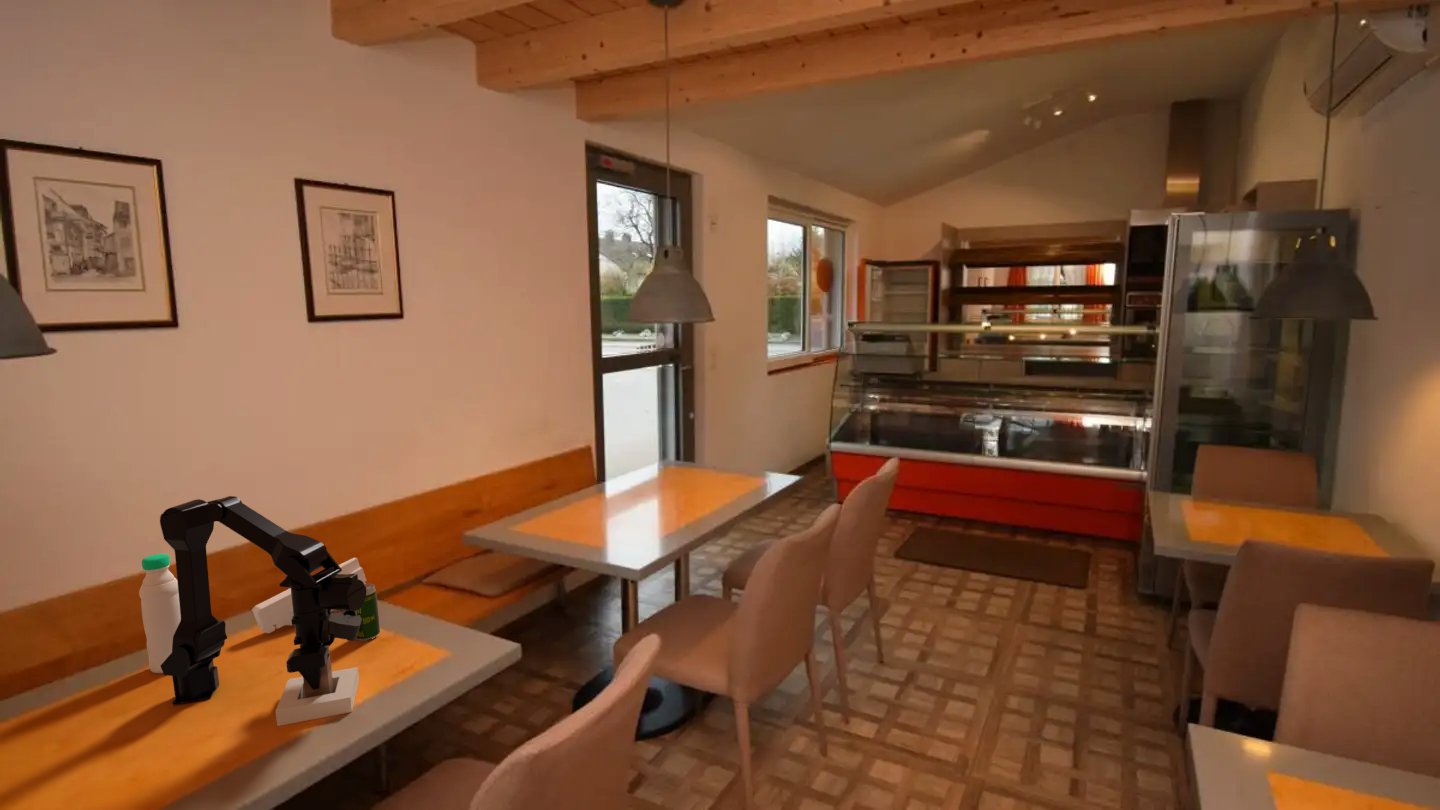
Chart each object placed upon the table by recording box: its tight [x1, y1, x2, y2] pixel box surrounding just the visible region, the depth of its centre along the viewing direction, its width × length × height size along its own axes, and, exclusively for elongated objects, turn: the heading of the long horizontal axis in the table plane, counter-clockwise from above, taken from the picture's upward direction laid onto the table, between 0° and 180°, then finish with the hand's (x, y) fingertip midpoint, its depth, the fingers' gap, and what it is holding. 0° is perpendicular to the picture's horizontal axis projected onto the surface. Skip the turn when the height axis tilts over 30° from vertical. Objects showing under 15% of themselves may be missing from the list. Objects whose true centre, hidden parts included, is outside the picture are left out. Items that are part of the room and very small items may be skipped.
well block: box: [275, 666, 360, 727], centre depth 144 cm, size 12×12×3 cm
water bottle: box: [138, 553, 181, 674], centre depth 158 cm, size 7×7×25 cm
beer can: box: [355, 583, 381, 642], centre depth 172 cm, size 5×5×12 cm
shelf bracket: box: [251, 557, 367, 634], centre depth 183 cm, size 6×25×13 cm, turn 143°
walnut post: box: [302, 645, 333, 698], centre depth 144 cm, size 4×4×9 cm
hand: (318, 683), depth 144 cm, fingers closed on walnut post, 4 cm apart
